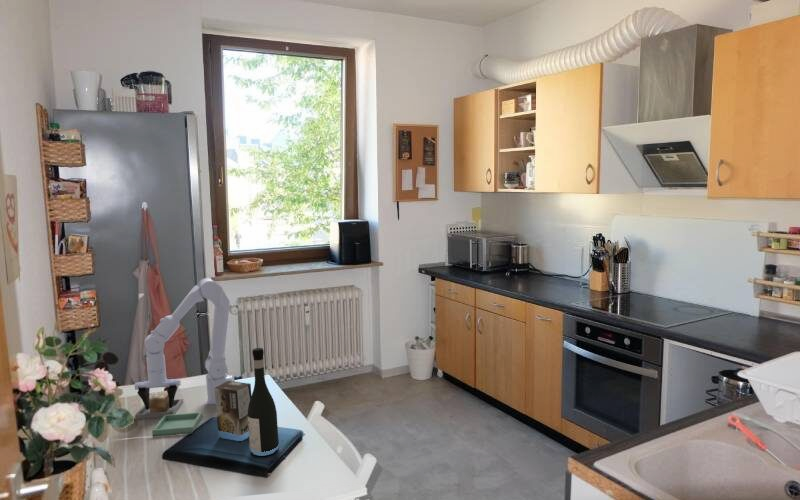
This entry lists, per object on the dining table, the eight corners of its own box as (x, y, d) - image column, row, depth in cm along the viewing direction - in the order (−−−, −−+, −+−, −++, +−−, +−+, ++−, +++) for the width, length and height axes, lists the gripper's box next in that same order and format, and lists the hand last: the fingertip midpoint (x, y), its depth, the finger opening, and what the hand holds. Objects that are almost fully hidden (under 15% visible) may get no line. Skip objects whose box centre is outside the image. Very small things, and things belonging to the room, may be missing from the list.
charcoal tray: (183, 404, 196) (182, 398, 196) (173, 417, 184) (172, 412, 184) (147, 406, 195) (147, 401, 194) (135, 420, 183) (134, 415, 182)
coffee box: (255, 434, 169) (251, 383, 167) (241, 443, 163) (237, 390, 161) (232, 429, 173) (228, 380, 171) (217, 438, 167) (213, 387, 165)
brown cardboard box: (169, 407, 192) (168, 393, 191) (165, 413, 187) (164, 398, 186) (154, 408, 191) (153, 394, 191) (150, 414, 186) (148, 399, 186)
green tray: (202, 417, 183) (202, 411, 183) (193, 433, 171) (192, 427, 171) (165, 420, 182) (164, 414, 182) (152, 436, 170) (152, 430, 170)
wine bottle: (253, 461, 152) (246, 354, 148) (247, 449, 159) (240, 348, 156) (282, 453, 155) (275, 349, 152) (275, 442, 162) (268, 343, 159)
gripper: (181, 364, 192) (184, 401, 194) (138, 367, 191) (141, 405, 192) (175, 370, 185) (179, 409, 187) (130, 373, 184) (134, 412, 185)
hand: (159, 407), depth 189 cm, fingers open, 7 cm apart
